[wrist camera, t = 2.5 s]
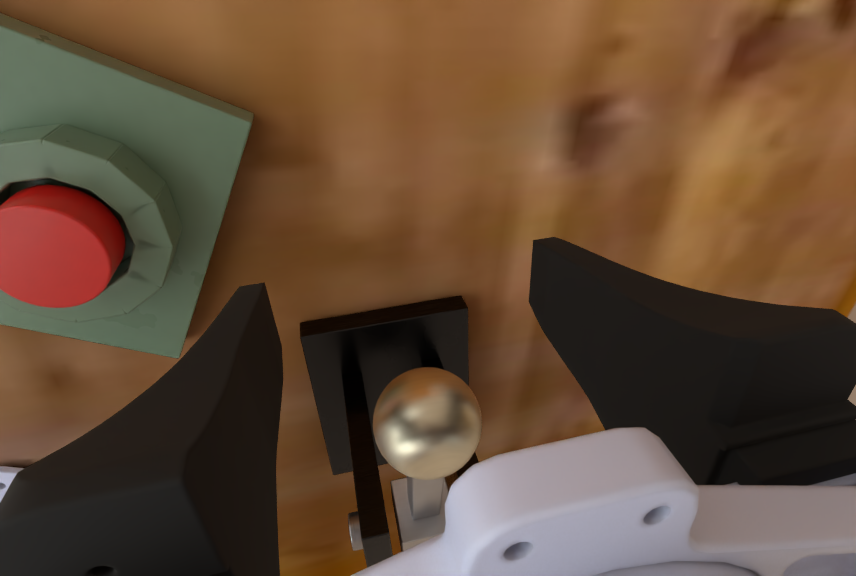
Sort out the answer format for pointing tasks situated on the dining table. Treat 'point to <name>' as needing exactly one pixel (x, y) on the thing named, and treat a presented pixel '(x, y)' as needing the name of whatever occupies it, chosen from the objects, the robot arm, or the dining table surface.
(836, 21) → the dining table surface
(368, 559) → the switch bracket
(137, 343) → the switch box
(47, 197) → the button
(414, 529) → the lever
